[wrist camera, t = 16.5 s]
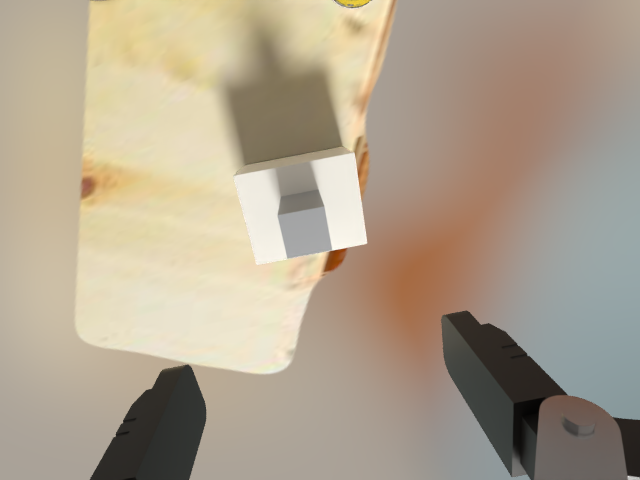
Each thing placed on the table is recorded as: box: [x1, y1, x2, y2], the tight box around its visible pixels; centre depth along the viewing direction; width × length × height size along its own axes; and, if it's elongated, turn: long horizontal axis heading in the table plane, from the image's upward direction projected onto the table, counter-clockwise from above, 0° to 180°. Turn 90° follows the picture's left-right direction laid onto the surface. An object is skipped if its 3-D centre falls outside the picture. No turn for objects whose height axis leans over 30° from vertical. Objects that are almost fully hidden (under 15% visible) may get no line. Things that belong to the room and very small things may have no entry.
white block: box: [233, 146, 367, 265], centre depth 30 cm, size 8×10×13 cm
